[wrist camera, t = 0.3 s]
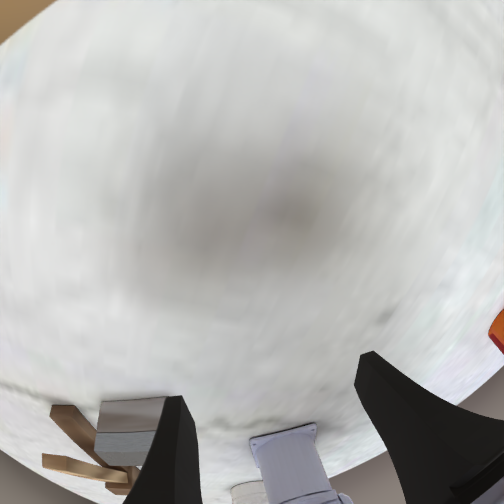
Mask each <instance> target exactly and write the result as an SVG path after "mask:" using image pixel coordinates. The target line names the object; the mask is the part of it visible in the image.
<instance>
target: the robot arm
mask: <svg viewBox="0 0 504 504" xmlns="http://www.w3.org/2000/svg"><path fill="white" fill-rule="evenodd" d="M354 386H355V389H356V391H357V394H358V396H359V399H360V401H361V403H362V405H363V407H364V409H365V411H366V413H367V414H368V416H369V418H370V419H371V421H372V423H373V425H374V426H375V428H376V430H377V431H378V433H379V435H380V437H381V438H382V440H383V442H384V444H385V446H386V448H387V450H388V452H389V454H390V457H391V459H392V462H393V464H394V467H395V469H396V472H397V475H398V478H399V480H400V484H401V487H402V490H403V493H404V496H405V500H406V504H504V421H503V420H498V419H493V418H489V417H485V416H482V415H479V414H476V413H473V412H470V411H468V410H465V409H463V408H460V407H458V406H455V405H453V404H451V403H449V402H447V401H445V400H443V399H441V398H439V397H438V396H436V395H434V394H433V393H431V392H429V391H428V390H426V389H424V388H423V387H421V386H420V385H418V384H417V383H415V382H414V381H413V380H411V379H410V378H408V377H407V376H406V375H404V374H403V373H402V372H400V371H399V370H398V369H396V368H395V367H394V366H392V365H391V364H390V363H389V362H387V361H386V360H385V359H383V358H382V357H381V356H380V355H378V354H377V353H376V352H374V351H371V352H368V353H365V354H362V355H360V359H359V364H358V369H357V373H356V378H355V382H354ZM316 430H317V425H316V424H310V425H306V426H303V427H299V428H295V429H291V430H288V431H284V432H280V433H275V434H271V435H267V436H262V437H257V438H253V439H250V440H249V442H250V446H251V449H252V453H253V456H254V460H255V463H256V466H257V468H260V471H261V475H262V479H263V483H264V487H265V490H266V494H267V498H268V501H269V504H353V502H352V500H351V498H350V497H349V496H348V495H345V494H343V493H340V494H337V493H336V490H332V488H331V485H330V482H329V480H328V477H327V475H326V472H325V470H324V467H323V465H322V462H321V459H320V457H319V454H318V452H317V449H316V447H315V437H316ZM123 504H203V503H202V497H201V489H200V472H199V453H198V441H197V434H196V428H195V422H194V420H193V418H192V416H191V414H190V412H189V410H188V407H187V405H186V403H185V401H184V399H183V397H182V395H180V396H172V397H166V398H165V400H164V405H163V409H162V413H161V416H160V420H159V423H158V426H157V429H156V432H155V435H154V438H153V441H152V444H151V447H150V449H149V452H148V454H147V457H146V459H145V462H144V464H143V466H142V469H141V471H140V473H139V475H138V477H137V479H136V481H135V483H134V485H133V487H132V488H131V490H130V492H129V494H128V495H127V497H126V499H125V500H124V502H123Z"/></svg>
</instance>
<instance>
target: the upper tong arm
mask: <svg viewBox="0 0 504 504" xmlns="http://www.w3.org/2000/svg"><path fill="white" fill-rule="evenodd" d="M42 466H43V468H47V469H50V470H54V471H57V472H61V473H65V474H69V475H74V476H78V477H83V478H88V479H93V480H98V481H104V482H114V483H128V478H127V473H126V472H121V471H117V470H113V469H108V468H104V467H101V466H97V465H93V464H90V463H86V462H83V461H80V460H76V459H73V458H70V457H67V456H60V455H52V454H44V453H42Z"/></svg>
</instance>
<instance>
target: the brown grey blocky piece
mask: <svg viewBox="0 0 504 504" xmlns="http://www.w3.org/2000/svg"><path fill="white" fill-rule="evenodd" d="M168 397H169V396H168ZM165 398H166V397H159V398H150V399H139V400H126V401H110V402H101V406H100V412H99V418H98V425H97V431H96V430H95V429H94V428H93V427H92V425H91V424H90V423H89V422H88V421H87V420H86V419H85V417H84V416H83V415H82V414H81V413H80V412H79V410H78V409H77V408H76V407H75V406H70V405H52V408H51V412H50V417H51V419H52V420H53V421H54V422H55V423H56V424H57V425H58V426H59V427H60V428H61V429H62V430H63V431H64V432H65V433H66V434H67V435H68V436H69V437H70V438H71V439H72V440H73V441H74V442H75V443H76V444H77V445H78V446H79V447H80V448H81V449H82V450H84V451H85V452H86V453H87V454H88V455H89V456H90V457H91V458H92V459H94V460H95V461H96V462H97V463H98V464H99V465H101V466H102V467H104V468H108V469H113V470H117V471H121V472H126V473H127V478H128V483H114V482H106V483H105V488H106V489H108V490H109V491H111V492H112V493H114V494H115V495H128V494H129V492H130V490H131V488H132V487H133V485H134V483H135V481H136V479H137V477H138V475H139V473H140V470H139V469H138V468H137V467H135V466H110V465H108V464H107V463H106V462H105V461H104V460H103V459H102V458H100V457H99V456H98V455H97V454H96V453H95V452H94V447H95V439H96V433H132V432H150V431H156V429H157V426H158V423H159V420H160V416H161V413H162V409H163V405H164V400H165Z"/></svg>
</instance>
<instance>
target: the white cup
mask: <svg viewBox="0 0 504 504" xmlns="http://www.w3.org/2000/svg"><path fill="white" fill-rule="evenodd" d="M231 496H232V502H233V503H232V504H269V501H268V498H267V494H266V490H265V487H264V483H263V481H255V482H248V483H243V484H240V485H237V486H235V487H233V488H232V489H231Z"/></svg>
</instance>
